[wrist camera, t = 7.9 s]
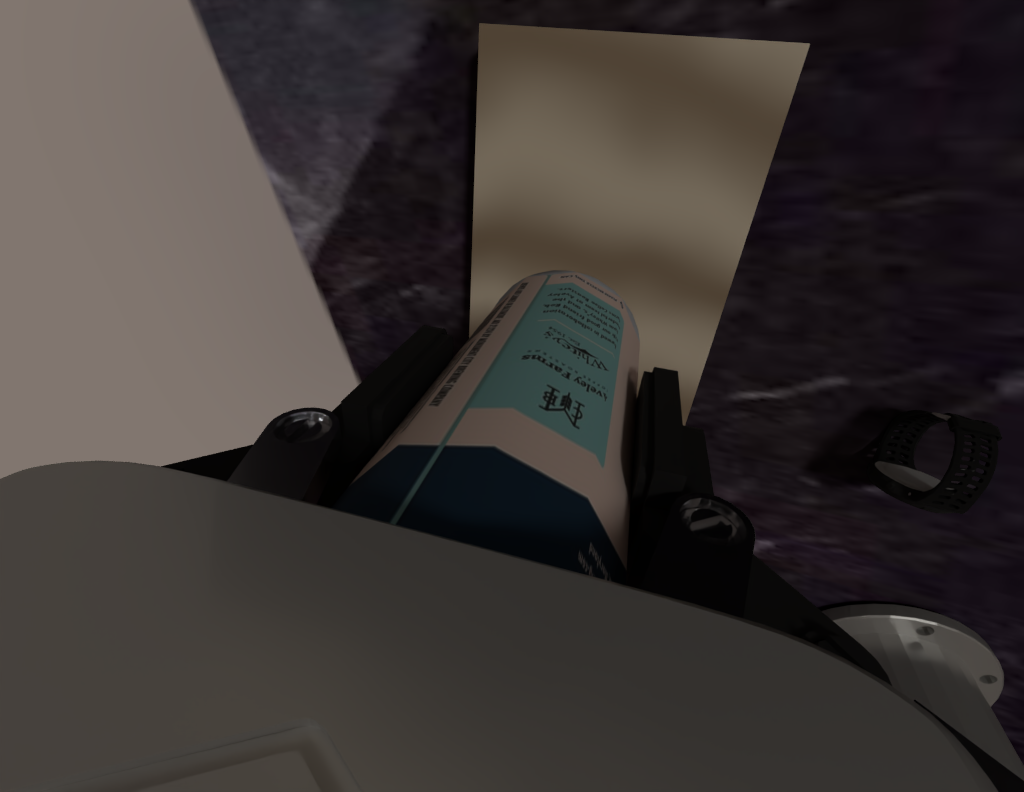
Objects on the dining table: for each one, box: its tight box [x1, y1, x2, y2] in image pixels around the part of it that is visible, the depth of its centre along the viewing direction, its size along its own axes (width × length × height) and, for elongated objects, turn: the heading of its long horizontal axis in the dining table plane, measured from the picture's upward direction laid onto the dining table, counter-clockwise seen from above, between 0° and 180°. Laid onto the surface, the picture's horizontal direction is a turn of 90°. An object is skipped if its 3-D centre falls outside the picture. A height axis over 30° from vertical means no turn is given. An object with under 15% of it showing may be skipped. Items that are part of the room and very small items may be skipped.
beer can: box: [331, 270, 640, 585], centre depth 10 cm, size 5×5×12 cm
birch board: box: [469, 23, 810, 426], centre depth 23 cm, size 18×12×2 cm, turn 177°
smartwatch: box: [867, 410, 1002, 514], centre depth 22 cm, size 4×5×5 cm
